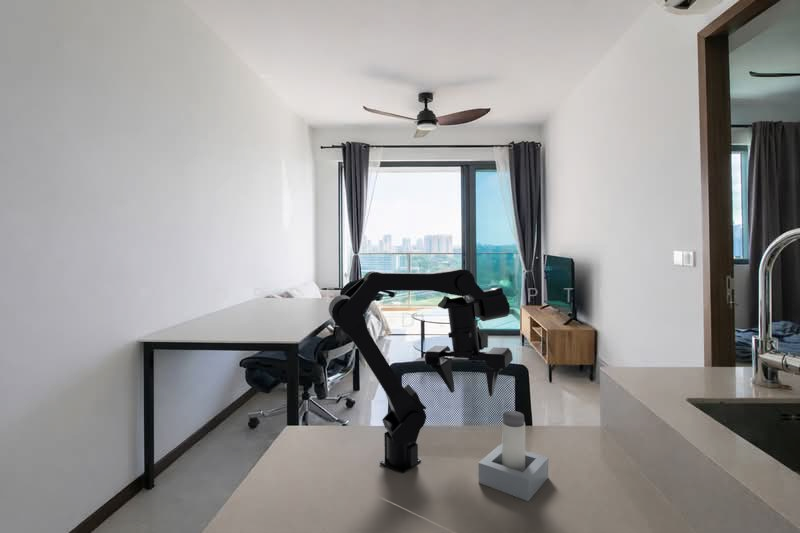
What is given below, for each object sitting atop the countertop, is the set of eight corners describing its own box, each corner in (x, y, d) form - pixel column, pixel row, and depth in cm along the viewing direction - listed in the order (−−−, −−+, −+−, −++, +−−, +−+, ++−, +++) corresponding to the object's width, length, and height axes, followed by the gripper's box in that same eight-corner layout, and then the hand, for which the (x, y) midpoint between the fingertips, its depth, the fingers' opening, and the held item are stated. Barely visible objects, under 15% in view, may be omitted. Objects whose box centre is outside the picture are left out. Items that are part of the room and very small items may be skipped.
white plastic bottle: (497, 475, 85) (496, 414, 84) (512, 468, 88) (512, 408, 87) (514, 486, 81) (514, 421, 81) (530, 478, 84) (530, 416, 83)
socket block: (478, 482, 84) (478, 462, 84) (501, 461, 92) (501, 443, 91) (528, 501, 78) (528, 479, 77) (548, 477, 85) (548, 457, 85)
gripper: (515, 315, 96) (523, 383, 98) (440, 316, 106) (448, 377, 107) (500, 329, 87) (508, 403, 88) (419, 328, 97) (428, 395, 98)
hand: (471, 393), depth 96 cm, fingers open, 9 cm apart
